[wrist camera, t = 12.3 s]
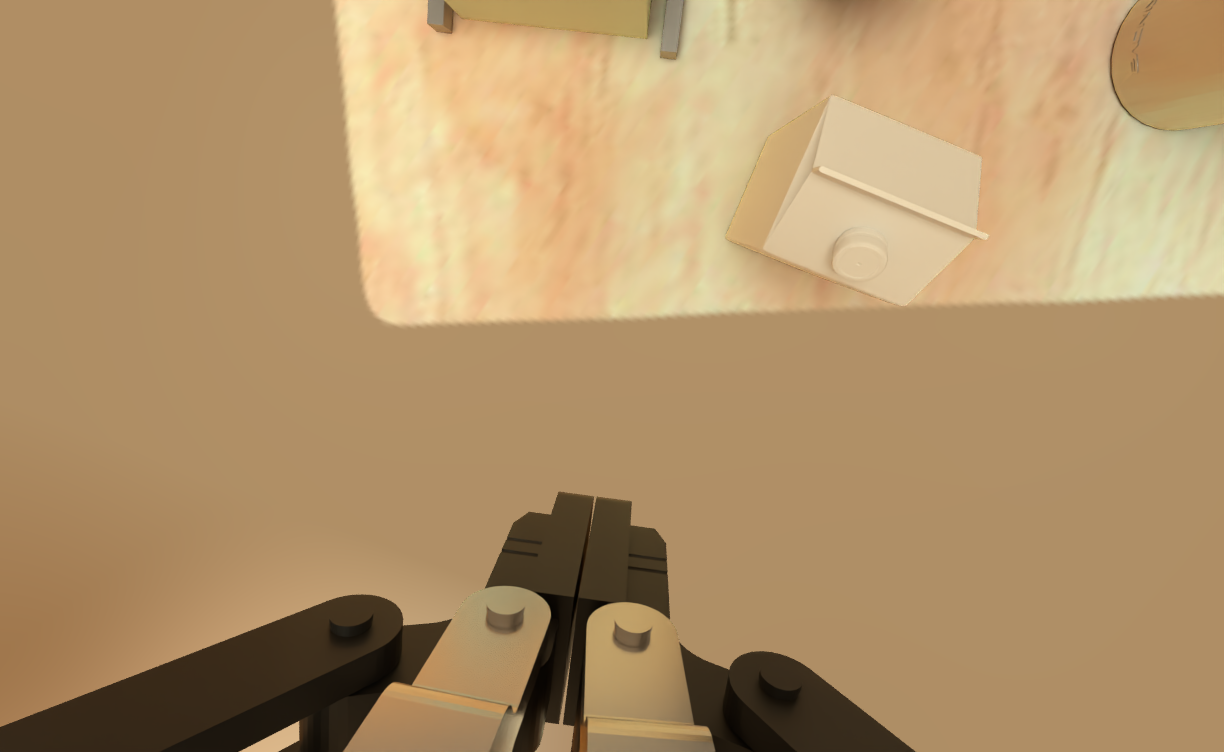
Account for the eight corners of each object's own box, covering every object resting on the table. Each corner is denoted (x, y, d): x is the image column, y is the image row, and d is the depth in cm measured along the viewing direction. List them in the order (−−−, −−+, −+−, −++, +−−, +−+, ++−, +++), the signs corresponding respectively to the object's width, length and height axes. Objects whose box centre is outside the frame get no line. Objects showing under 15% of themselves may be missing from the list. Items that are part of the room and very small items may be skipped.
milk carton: (767, 135, 41) (862, 72, 23) (866, 176, 42) (1038, 146, 23) (723, 238, 43) (778, 256, 25) (819, 277, 44) (943, 323, 25)
